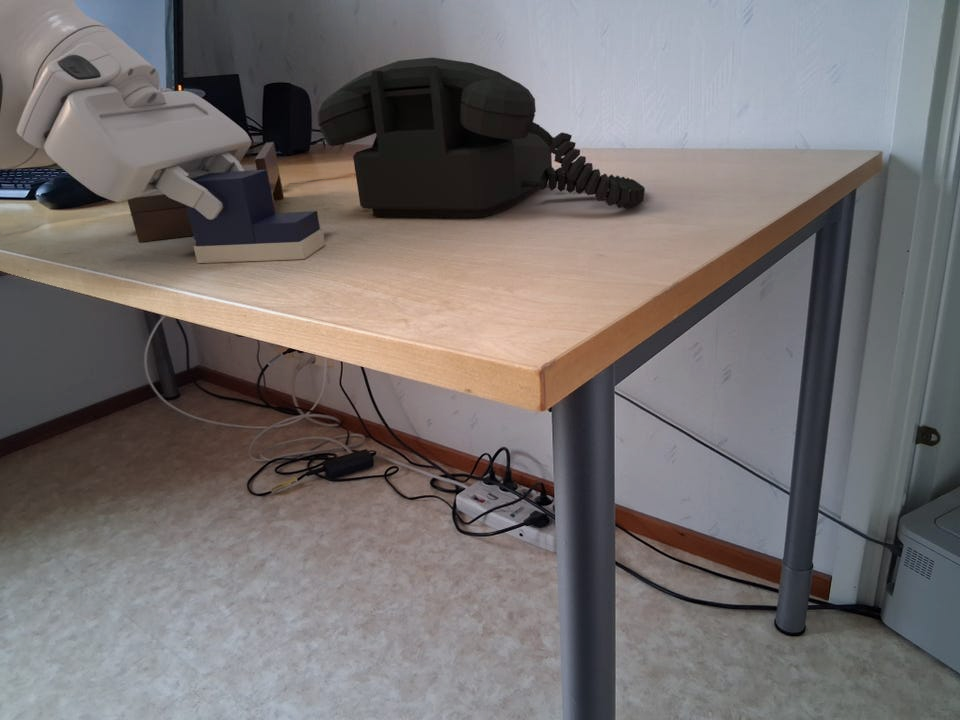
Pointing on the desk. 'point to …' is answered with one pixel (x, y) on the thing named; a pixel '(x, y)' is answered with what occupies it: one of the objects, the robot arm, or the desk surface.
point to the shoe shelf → (171, 218)
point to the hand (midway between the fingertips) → (238, 205)
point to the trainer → (251, 223)
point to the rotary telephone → (455, 142)
